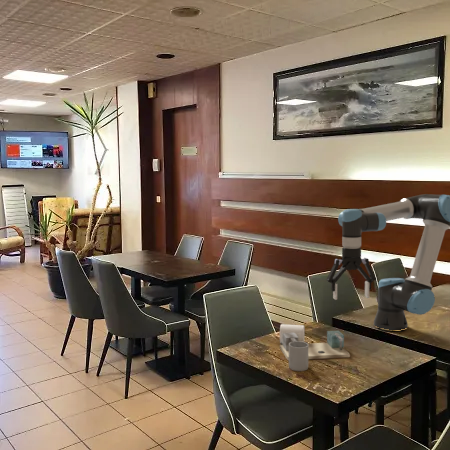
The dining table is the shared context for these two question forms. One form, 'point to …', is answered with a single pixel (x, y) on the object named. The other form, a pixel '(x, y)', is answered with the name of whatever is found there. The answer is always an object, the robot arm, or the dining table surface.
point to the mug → (292, 331)
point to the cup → (298, 356)
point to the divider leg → (335, 339)
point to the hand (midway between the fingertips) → (351, 298)
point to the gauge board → (313, 348)
